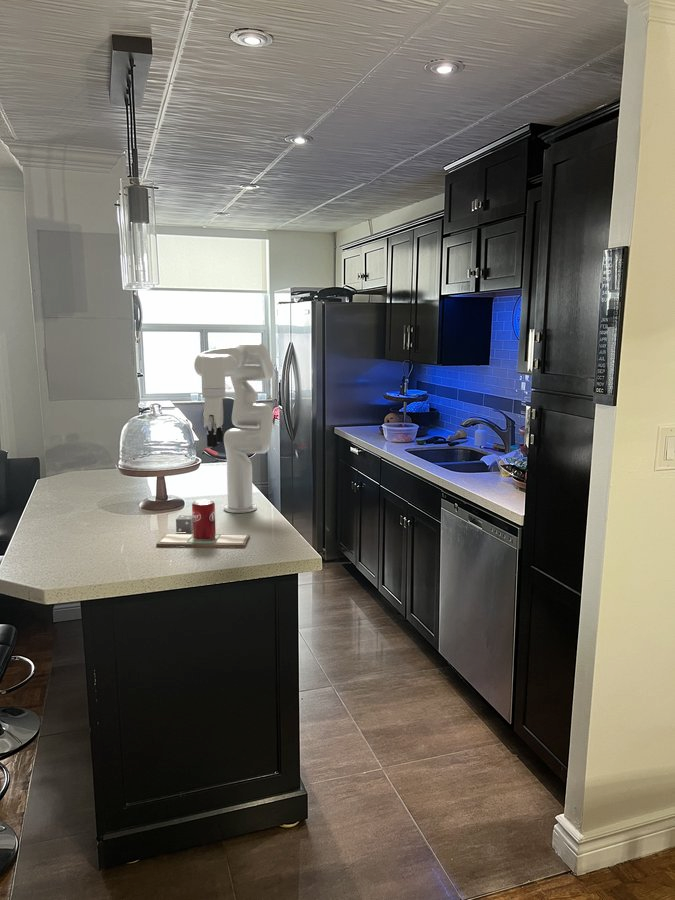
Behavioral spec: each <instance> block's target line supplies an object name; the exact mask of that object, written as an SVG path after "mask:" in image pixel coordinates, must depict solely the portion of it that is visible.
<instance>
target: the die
mask: <svg viewBox="0 0 675 900" xmlns="http://www.w3.org/2000/svg"><path fill="white" fill-rule="evenodd" d="M175 531H176V532H186V533H185V534H190V533H191V532H192V531H193V522H192V515H188V514H187V515H179V516H178V517H176V518H175ZM176 532H175V533H176ZM192 533H193V532H192ZM192 533H191V534H192Z"/></svg>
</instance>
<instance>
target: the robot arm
mask: <svg viewBox="0 0 675 900" xmlns="http://www.w3.org/2000/svg"><path fill="white" fill-rule="evenodd" d="M193 366H194V370H195V372H196V374H197V375H198V376H199V377H201V388H202V391H201V392H202V393H201V394H202V396H201V397H202V399H204V400H203V401H204V403H203V428H205V429H206V446H207V448H210V447H211V448H216V447H217V446H218V443H223V444H224V450H225V455H226V482H227V483H226V486H227V504H226V505H224V506H223V510H224V511H225V512H227V513H232V514H233V513H234V514H237V513H238V514H241V513H242V514H243V513H251V512H254V511H256V510H257V508H258V506H257V504H256V503H253V500H254V499H253V464H252V461H251V459H250V458H249V457H248V455H247V454H266V453H267V452H268V451H269V449H270V446H271V439H272V432H273V425H274V424H273V423H274V412H273V408H272V407H271V405H269V404H267V403H257V398H258V397H257V396H258V395H257V392H256V390H255V389H254V388H253V386H252V385H251V384H250V383H249V382H250V381H253V382H256V381H257V382H266V381H269V380H271V379H272V378H273V375H274V366H273V361H272V358H271V357H270V354H269V351H268V349H267V347H266V345H265V344H263V343H262V342H259V341H257V342H256V341H237V342H235V343H232V344H230V345H228V346H227V347H220V348H216V349H210V350H205V351H203V352H201V353H199V354H198V355H197V356H196V357H195V359H194V364H193ZM226 377H230V381H231V383H232V386H233V389H234V398H233V405H232V406H233V407H232V412H231V422H232V425H234V427H233V428H229V429H227V430H226V431H225V433H223V432H224V431H223V424H224V405H223V404H224V402H223V399H226ZM248 381H249V382H248ZM223 435H224V436H223Z"/></svg>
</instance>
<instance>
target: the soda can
mask: <svg viewBox="0 0 675 900" xmlns="http://www.w3.org/2000/svg"><path fill="white" fill-rule="evenodd" d="M191 516H192V522H193V532H192V534H193V538H194V539H195V540H198V541H208V540H212V539H214V538H215V536H216V504H215V501H214V500H211V499H200V500H194V501H193V502H192V503H191Z"/></svg>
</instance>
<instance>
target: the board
mask: <svg viewBox="0 0 675 900" xmlns="http://www.w3.org/2000/svg"><path fill="white" fill-rule="evenodd" d="M250 536H251V535H250V534H237V533H236V534H232V533H231V534H224V533H222V534H219V533H217V534H216V536H215V538H214V539H212V540H208V541H198V540H195V539H194V538H193V533H191V534H190V533H165V534H163V536H162V537H161V538H160V540H158V541H157V543H156V544H155V545H156V548H177V547H176V546H185V547H184V548H215V547H235V548H236V547H237V548H238V549H239V548H240V549H241V548H242V549H243V548H244V547H246V546H247V544H248V541H249V539H250ZM246 543H247V544H246ZM164 546H165V547H164ZM235 548H234V549H235ZM237 548H236V549H237ZM244 549H245V548H244Z"/></svg>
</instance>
